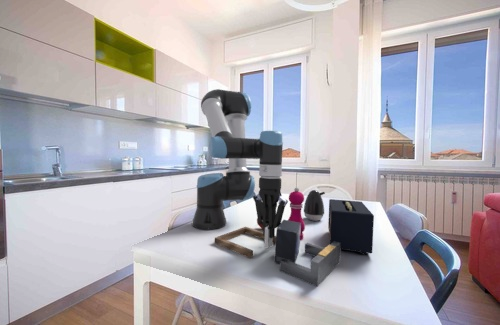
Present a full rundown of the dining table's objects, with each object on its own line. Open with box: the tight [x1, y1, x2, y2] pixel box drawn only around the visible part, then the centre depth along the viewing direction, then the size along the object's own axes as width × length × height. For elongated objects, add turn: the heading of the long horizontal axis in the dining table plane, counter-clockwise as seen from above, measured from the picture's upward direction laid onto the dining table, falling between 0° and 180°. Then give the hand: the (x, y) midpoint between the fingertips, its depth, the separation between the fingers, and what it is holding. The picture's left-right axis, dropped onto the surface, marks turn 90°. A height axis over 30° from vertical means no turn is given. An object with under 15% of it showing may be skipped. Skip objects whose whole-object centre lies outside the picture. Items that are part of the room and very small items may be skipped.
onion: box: [256, 217, 263, 230], centre depth 96 cm, size 6×6×8 cm
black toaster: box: [327, 198, 375, 255], centre depth 83 cm, size 22×13×15 cm, turn 162°
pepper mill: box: [287, 187, 306, 241], centre depth 87 cm, size 7×7×20 cm
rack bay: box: [279, 241, 341, 287], centre depth 64 cm, size 11×17×6 cm, turn 140°
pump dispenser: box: [303, 189, 326, 222], centre depth 112 cm, size 10×10×15 cm
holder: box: [214, 226, 276, 259], centre depth 81 cm, size 17×17×2 cm
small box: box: [273, 219, 301, 264], centre depth 70 cm, size 11×6×10 cm, turn 160°
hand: (268, 246), depth 74 cm, fingers closed
